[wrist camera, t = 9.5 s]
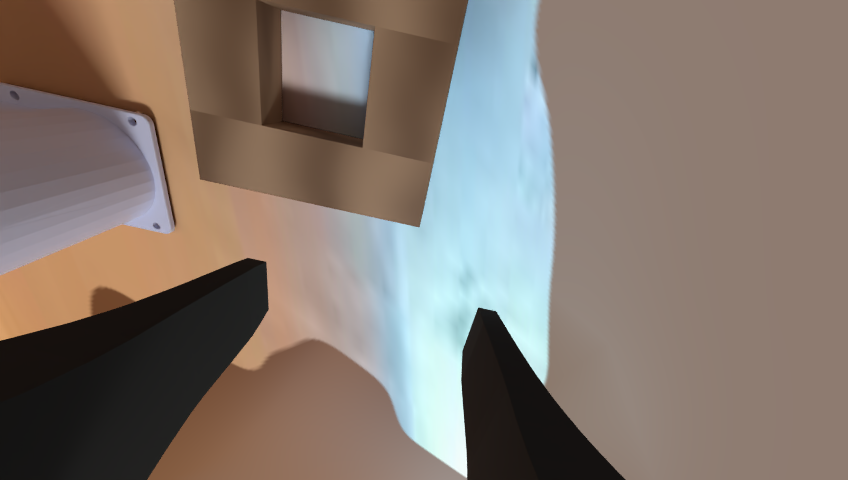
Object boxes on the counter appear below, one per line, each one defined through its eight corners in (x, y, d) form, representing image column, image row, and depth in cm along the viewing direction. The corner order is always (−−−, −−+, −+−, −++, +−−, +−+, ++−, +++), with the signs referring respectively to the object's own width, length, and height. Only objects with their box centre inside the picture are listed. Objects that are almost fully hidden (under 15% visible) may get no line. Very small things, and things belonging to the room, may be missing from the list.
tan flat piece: (225, 169, 20) (200, 179, 18) (195, -113, 14) (152, -146, 12) (422, 213, 20) (419, 227, 18) (478, -47, 14) (482, -68, 12)
